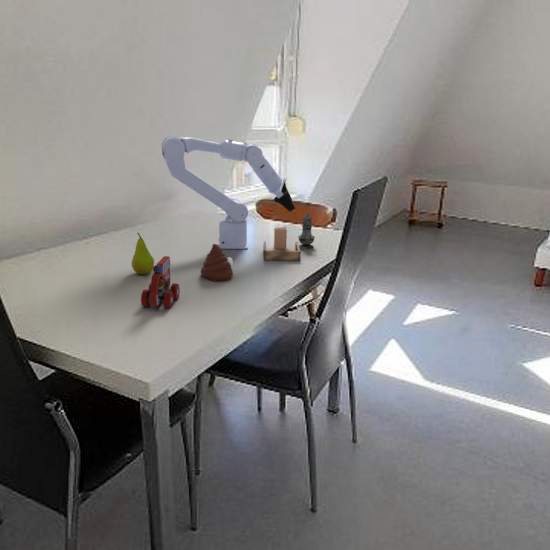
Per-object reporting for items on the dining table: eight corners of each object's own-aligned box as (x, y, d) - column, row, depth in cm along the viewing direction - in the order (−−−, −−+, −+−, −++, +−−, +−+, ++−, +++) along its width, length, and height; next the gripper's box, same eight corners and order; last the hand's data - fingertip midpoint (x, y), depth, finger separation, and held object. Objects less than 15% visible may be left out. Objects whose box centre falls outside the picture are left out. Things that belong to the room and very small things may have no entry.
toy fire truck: (138, 312, 112) (135, 269, 109) (155, 293, 124) (152, 253, 121) (167, 313, 112) (165, 270, 108) (182, 294, 123) (180, 255, 120)
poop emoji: (194, 275, 138) (193, 243, 135) (219, 269, 143) (218, 238, 140) (215, 284, 131) (214, 251, 128) (240, 278, 136) (240, 245, 133)
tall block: (274, 249, 164) (274, 229, 162) (274, 246, 168) (274, 226, 166) (286, 249, 165) (286, 229, 162) (285, 246, 168) (286, 226, 166)
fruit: (159, 272, 139) (157, 231, 135) (144, 278, 134) (141, 236, 130) (143, 268, 142) (140, 228, 139) (127, 274, 137) (123, 232, 133)
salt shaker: (308, 250, 165) (310, 215, 161) (294, 247, 168) (295, 212, 164) (317, 246, 169) (319, 212, 165) (303, 243, 173) (305, 210, 169)
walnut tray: (263, 260, 152) (264, 251, 151) (263, 250, 164) (263, 241, 163) (300, 260, 153) (300, 251, 152) (297, 250, 164) (297, 241, 163)
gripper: (279, 174, 156) (303, 206, 162) (275, 162, 169) (298, 192, 174) (261, 187, 157) (286, 218, 163) (259, 174, 170) (282, 203, 176)
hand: (291, 205), depth 169 cm, fingers open, 7 cm apart
